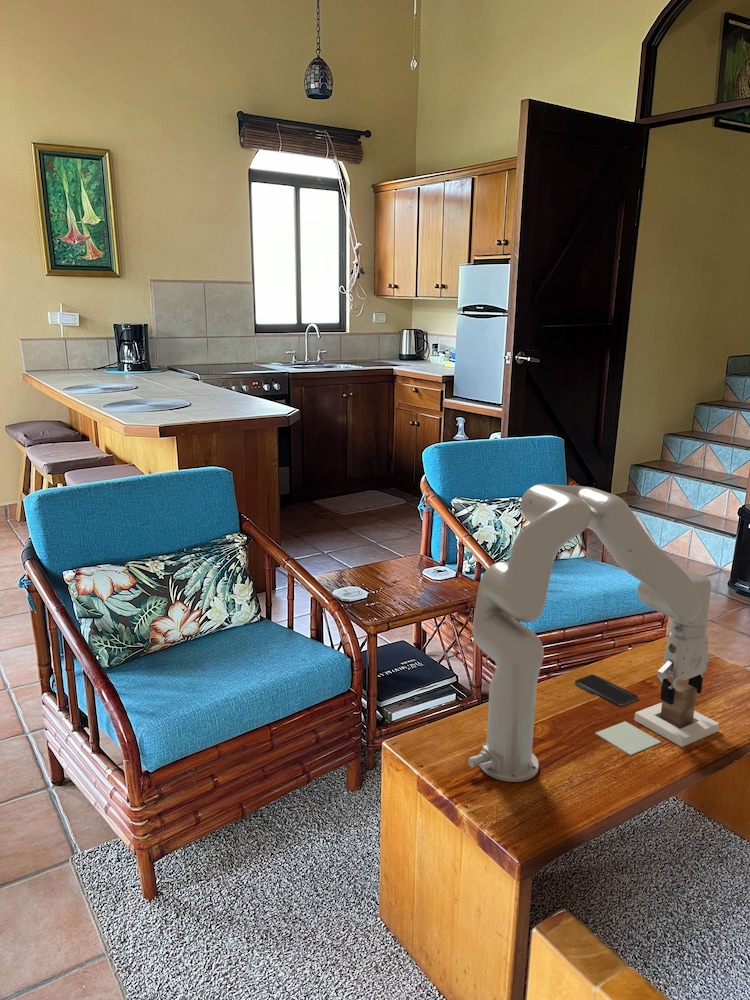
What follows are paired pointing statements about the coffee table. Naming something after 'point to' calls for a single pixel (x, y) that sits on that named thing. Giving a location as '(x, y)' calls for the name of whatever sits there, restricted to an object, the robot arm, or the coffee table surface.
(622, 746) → the green mat
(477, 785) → the coffee table surface
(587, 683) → the phone
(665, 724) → the pocket plate
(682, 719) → the walnut block
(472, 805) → the coffee table surface
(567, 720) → the coffee table surface
